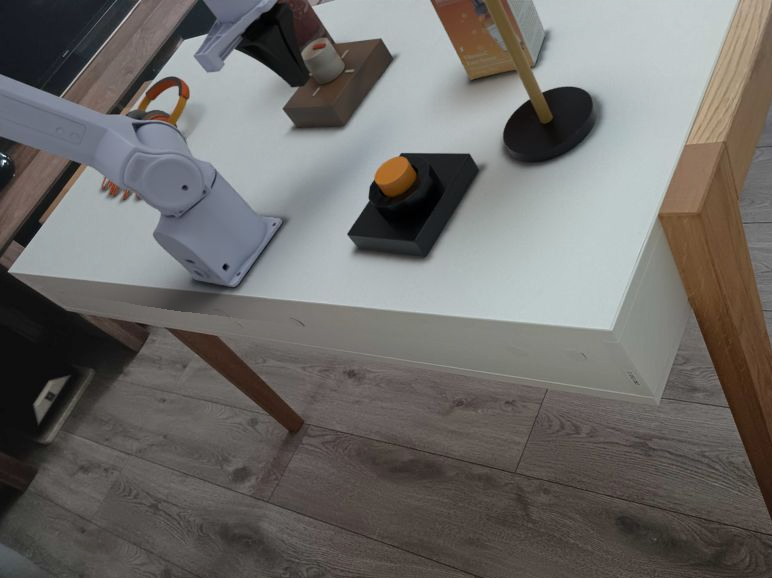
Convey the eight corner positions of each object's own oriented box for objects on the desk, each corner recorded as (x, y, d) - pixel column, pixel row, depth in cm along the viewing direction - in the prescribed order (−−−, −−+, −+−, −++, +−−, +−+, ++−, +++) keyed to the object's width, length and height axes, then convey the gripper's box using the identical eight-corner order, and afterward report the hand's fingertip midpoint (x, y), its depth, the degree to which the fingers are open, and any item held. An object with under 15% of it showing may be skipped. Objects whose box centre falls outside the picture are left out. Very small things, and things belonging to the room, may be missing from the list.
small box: (470, 82, 83) (425, -3, 75) (483, 49, 85) (441, -36, 78) (536, 66, 79) (495, -25, 71) (547, 33, 81) (509, -59, 74)
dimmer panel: (344, 126, 90) (329, 105, 87) (296, 127, 95) (281, 107, 93) (393, 58, 94) (380, 36, 92) (344, 63, 99) (331, 42, 97)
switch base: (426, 257, 69) (405, 228, 66) (358, 249, 74) (335, 221, 71) (479, 169, 73) (461, 138, 70) (411, 168, 78) (392, 139, 75)
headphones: (158, 212, 104) (221, 89, 107) (124, 192, 100) (190, 65, 103) (104, 201, 115) (163, 89, 118) (72, 183, 111) (133, 68, 114)
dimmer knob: (312, 85, 93) (293, 59, 90) (327, 64, 94) (309, 37, 92) (335, 82, 90) (316, 55, 88) (350, 60, 92) (332, 33, 89)
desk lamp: (575, 168, 67) (456, -96, 50) (486, 166, 73) (352, -70, 56) (618, 90, 70) (520, -181, 53) (529, 94, 76) (416, -148, 59)
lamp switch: (405, 198, 69) (395, 185, 68) (377, 197, 71) (367, 183, 70) (423, 170, 71) (414, 156, 69) (395, 169, 73) (386, 156, 71)
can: (343, 39, 104) (281, -56, 94) (334, 66, 100) (269, -30, 90) (307, 54, 106) (244, -37, 96) (297, 81, 102) (230, -10, 93)
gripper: (189, 7, 62) (288, 131, 72) (283, -98, 68) (363, 31, 77) (145, 16, 67) (243, 132, 76) (237, -83, 72) (318, 37, 82)
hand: (301, 82), depth 77 cm, fingers closed
